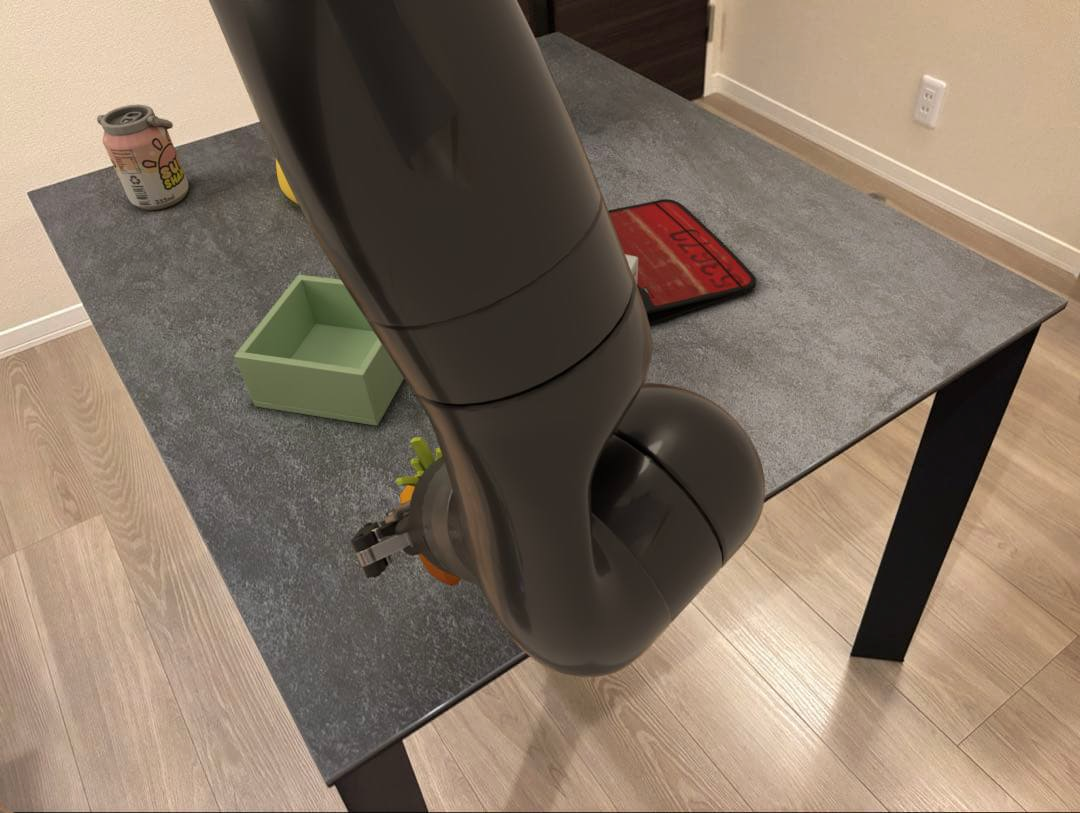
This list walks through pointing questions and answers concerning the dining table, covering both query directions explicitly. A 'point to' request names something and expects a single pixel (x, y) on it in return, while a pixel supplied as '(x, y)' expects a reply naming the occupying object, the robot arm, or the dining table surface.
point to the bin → (318, 356)
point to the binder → (678, 259)
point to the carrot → (411, 481)
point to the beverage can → (144, 156)
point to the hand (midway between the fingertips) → (429, 508)
